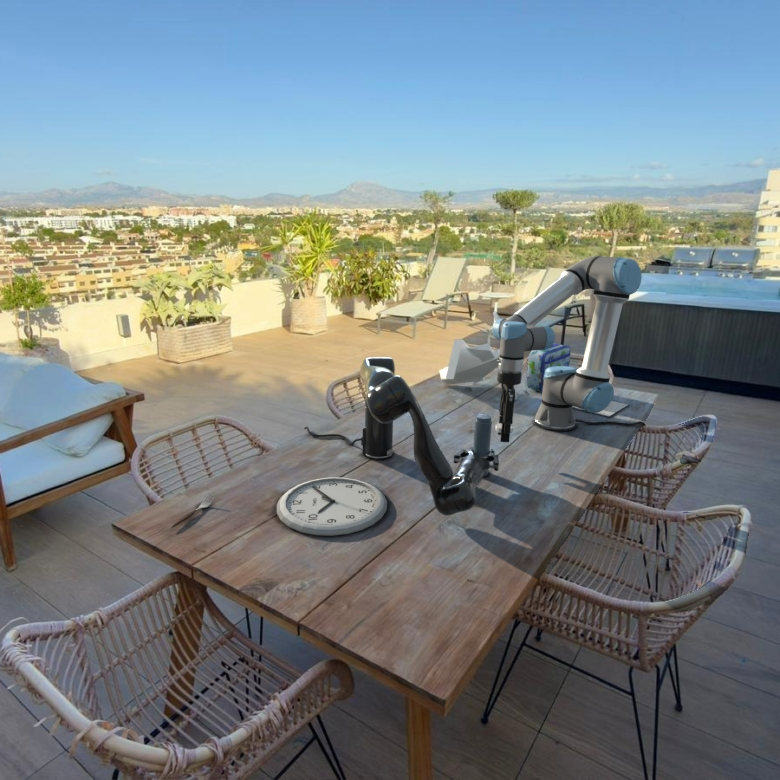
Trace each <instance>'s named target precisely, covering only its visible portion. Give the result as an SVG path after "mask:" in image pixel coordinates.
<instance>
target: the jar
mask: <svg viewBox="0 0 780 780" xmlns="http://www.w3.org/2000/svg"><path fill="white" fill-rule="evenodd" d="M492 426H493V421H492V416H491V415H489V414H486V413H478V414H477V415H476V418H475V420H474V433H473V445H472V447H473V455H477V456H483V455H484V454H489V452H490V450H491V441H492V440H491V439H492V429H493V428H492ZM488 474H489V469H488V470H486V472H485V474H484V476H483V477H486V476H488Z"/></svg>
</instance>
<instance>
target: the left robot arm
mask: <svg viewBox="0 0 780 780" xmlns="http://www.w3.org/2000/svg"><path fill="white" fill-rule="evenodd" d="M395 364H396V363H395V361H394V359H393V358H392V357H389V356H388V357H382V356H381V357H380V356H379V357H372V356H371V357H366V358H364V359H363V360H362V361H361V365H360V370H359V371H360V379H361V382H362V384H363V385H364V389H365V392H366V393H365V397H364V398H365V399H364V427H362V436H361V437H360V438H356V439H354V440H353V441H352V442H351V441H350V440H349V439H348V438H347V437H346V436H345V435H342V434H338V433H330V434H327V433H326V434H315V433H312V432H311V430H310V428H309V427H308V426H305V427H303V429H304V430H306V431H307V433H308V434H309V435H310V436H311V437H316V438H325V437H327V438H328V437H339V438H342V439H343V440H344V441H346V443H347V444H349V445H354V444H355V443H357V442H359V441H360V446H362V456H365V457H367V458H369V459H371V460H386V459H389V458H391V457H392V456H393V449H394V448H393V444H394V443H393V442H394V441H393V439H394V438H393V437H394V436H393V435H394V421H396V420H397V419H399V418H400V417H402V416H404V415H405V414H407V413H409V415H410V418H411V420H412V426H413V457H414V461H415V464H416V466H417V467H418V469H419V470H420V472H421V474H422V475H423V477H424V479H425V480H426V482H427V485H428V486H429V490H430V493H431V496H432V500H433V504H434V506H435V507H434V508H435V509H436V511H437V512H438V513H439V514H441V515H443V516H452V515H456V514H458V513H462V512H466V511H468V510H471V509H472V508H473V507H474V506H475V504H476V501H477V499H476V489H477V488H478V486H479V485H480V483H481V482H482V481H483V479H484V477H485V476H484V474H485V472H486V470H488V471H489V469H493V471H495V472H498V471H499V469H500V468H499V465H500V461H499V460H500V458H499V455H498V454H496V451H495V450H494V448H490V452H489V454H484V455H483V456H477V455H473V446H470V447H469V448H468V449H467V450H466V449H465V448H464V449H460V450H459V451H457V452H455V454H454V455H453V464H458V463H459V464H458V466H457V467H456V469H455V471H454V470H453V467H452V466H451V464H450V463H449V461H448V459H447V458H446V456H445V455H444V453H443V451H442V449H441V448H440V446H439V445H438V443H437V440H436V438H435V436H434V434H433V431H432V429H431V427H430V425H429V422H428V420H427V418H426V416H425V414H424V412H423V410H422V407H421V406H420V404H419V402H418V400H417V397H416V396H415V394H414V392H413V390H412V388H411V387H410V385H409V384H408V382H407V381H406V380H405V379H404V378H403V377H402V376H401V375H398V374H396V365H395ZM448 483H449V485H448V486H446V487H445V485H447V484H448Z"/></svg>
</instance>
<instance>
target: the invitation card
mask: <svg viewBox="0 0 780 780" xmlns="http://www.w3.org/2000/svg"><path fill="white" fill-rule="evenodd" d="M628 406H629V404H627V403H623V402H618V401H614V400H611V402H610V404H609V405H608V406H607V407H606V408H605V409H604V410H602V411H600V412H597V413H595V414H596V415H600V416H604V417H608V418H609V417H611V416H613V415H614V414H616V413H617V412H619V411H621V410H623V409H624V408H626V407H628ZM573 409H575V410H581V411H584V412H586V411H585V410H583V409H581V408H578V407H575V406H573ZM587 413H590V412H589V411H587ZM591 413H593V412H591ZM593 414H594V413H593Z"/></svg>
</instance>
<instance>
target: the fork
mask: <svg viewBox="0 0 780 780" xmlns="http://www.w3.org/2000/svg"><path fill="white" fill-rule="evenodd" d="M216 495H217V494H212V493H208V494H207V495H206V497H205V498H204V499H203V501H202V502H201V503H200V505H198V507H197V508H196V509H193V510H192V511H190V512H188V513H187V514H185V515H183V517H181V518H180V519H179V520H178V521H176V522H175V523H174V524H173V525H172V526H171V529H173V528H175V527H176V526H178V525H179V524H181V523H183V522H184V521H186V520H188V519H189V518H191V517H192V516H193V515H194V514H195V513H197V511H198V510H200V509H207V508H208V507H210V505H211V504H212V502H213V501H214V499H215V497H216Z"/></svg>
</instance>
